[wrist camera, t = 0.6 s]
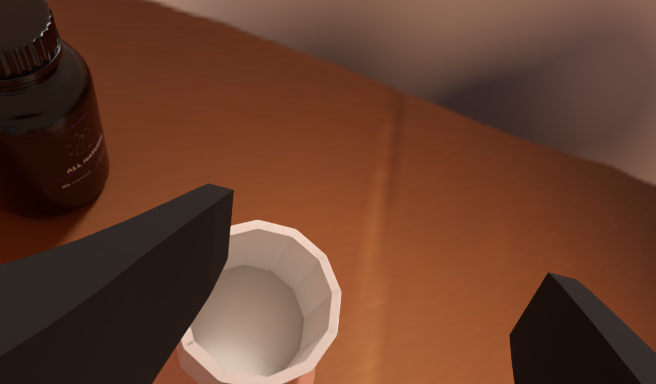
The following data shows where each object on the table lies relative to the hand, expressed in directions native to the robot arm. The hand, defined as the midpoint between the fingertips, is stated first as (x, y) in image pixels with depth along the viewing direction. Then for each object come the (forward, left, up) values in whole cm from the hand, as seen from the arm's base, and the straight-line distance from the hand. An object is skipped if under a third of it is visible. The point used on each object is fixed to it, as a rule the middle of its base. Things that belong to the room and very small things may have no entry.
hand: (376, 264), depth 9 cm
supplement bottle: (+9, +15, -18) cm, 25 cm away
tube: (+2, +1, -18) cm, 18 cm away
